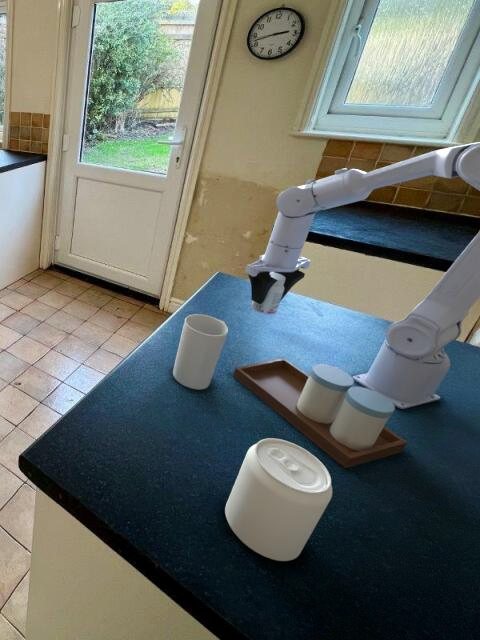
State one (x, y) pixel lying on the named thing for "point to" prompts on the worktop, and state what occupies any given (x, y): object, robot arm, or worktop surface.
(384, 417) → the blue lidded jar
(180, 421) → the worktop surface
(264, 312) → the pill bottle
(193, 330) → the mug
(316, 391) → the white jar
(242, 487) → the beverage can
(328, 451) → the tray
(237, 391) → the worktop surface
